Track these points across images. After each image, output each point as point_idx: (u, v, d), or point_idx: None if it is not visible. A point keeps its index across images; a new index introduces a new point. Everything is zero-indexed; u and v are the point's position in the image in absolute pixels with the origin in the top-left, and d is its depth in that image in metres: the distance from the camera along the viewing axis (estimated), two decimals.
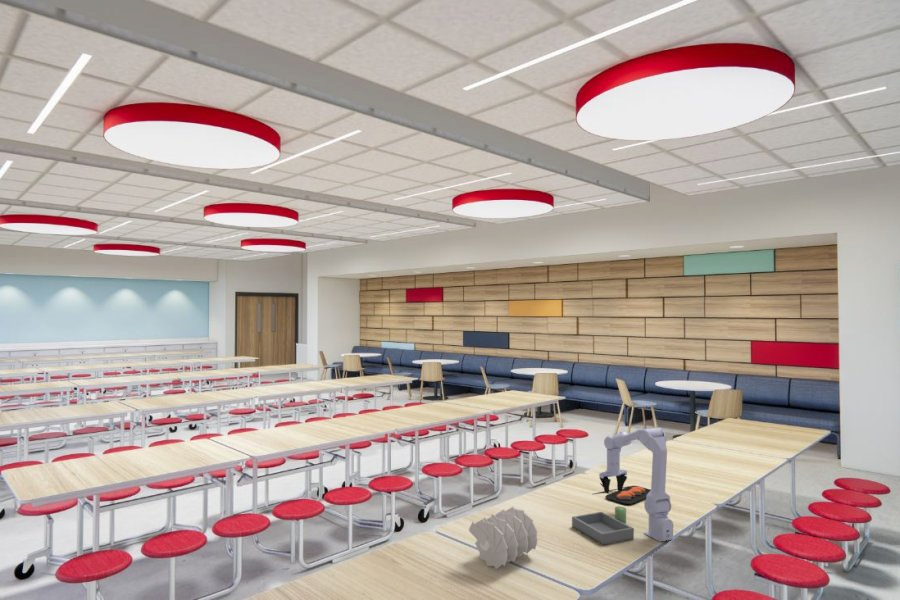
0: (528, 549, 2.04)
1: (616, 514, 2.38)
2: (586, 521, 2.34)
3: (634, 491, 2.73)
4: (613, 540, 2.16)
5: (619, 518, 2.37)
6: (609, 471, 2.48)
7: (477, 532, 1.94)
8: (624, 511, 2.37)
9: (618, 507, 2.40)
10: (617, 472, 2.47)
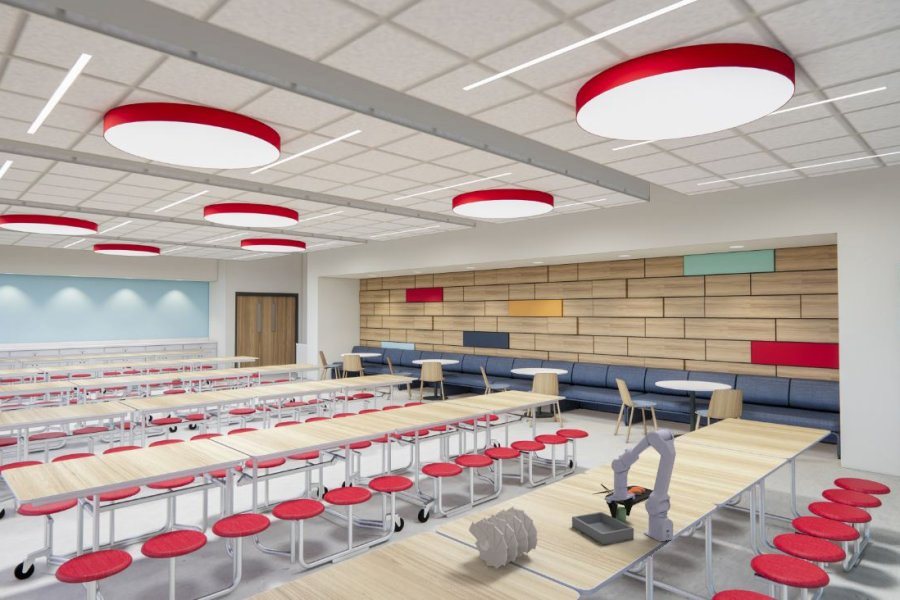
0: (528, 549, 2.04)
1: (616, 514, 2.38)
2: (586, 521, 2.34)
3: (634, 491, 2.73)
4: (613, 540, 2.16)
5: (619, 518, 2.37)
6: (616, 495, 2.38)
7: (477, 532, 1.94)
8: (624, 511, 2.37)
9: (618, 507, 2.40)
10: (625, 496, 2.37)
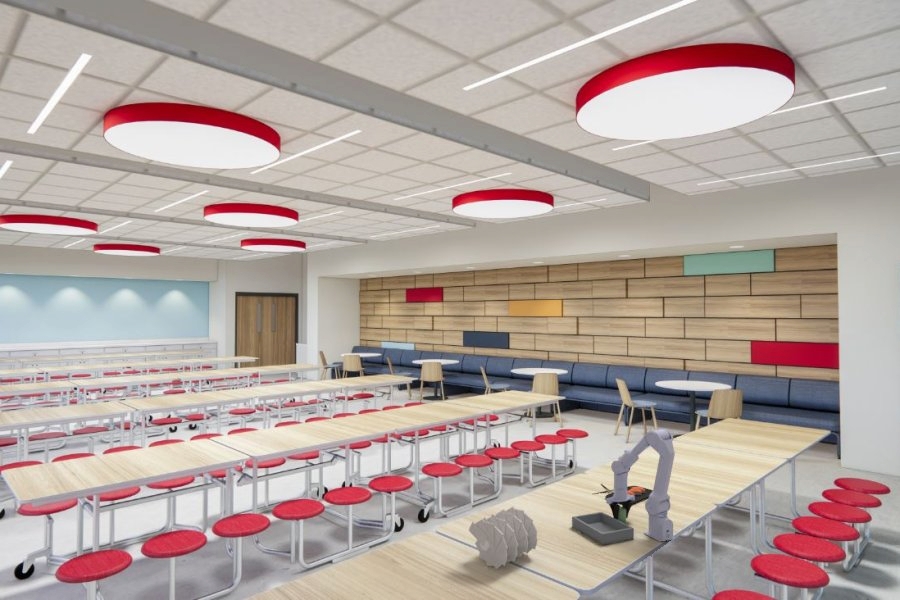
0: (528, 549, 2.04)
1: None
2: (586, 521, 2.34)
3: (634, 491, 2.73)
4: (613, 540, 2.16)
5: (619, 518, 2.37)
6: (616, 497, 2.37)
7: (477, 532, 1.94)
8: (624, 511, 2.37)
9: None
10: (625, 498, 2.37)
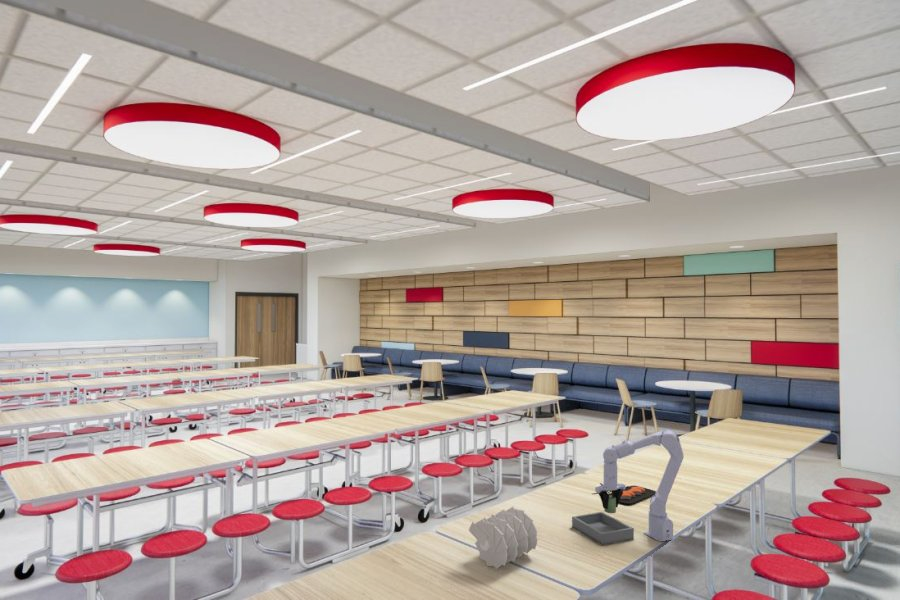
0: (528, 549, 2.04)
1: None
2: (586, 521, 2.34)
3: (634, 491, 2.73)
4: (613, 540, 2.16)
5: (608, 507, 2.30)
6: (606, 485, 2.30)
7: (477, 532, 1.94)
8: (613, 500, 2.30)
9: None
10: (614, 486, 2.29)
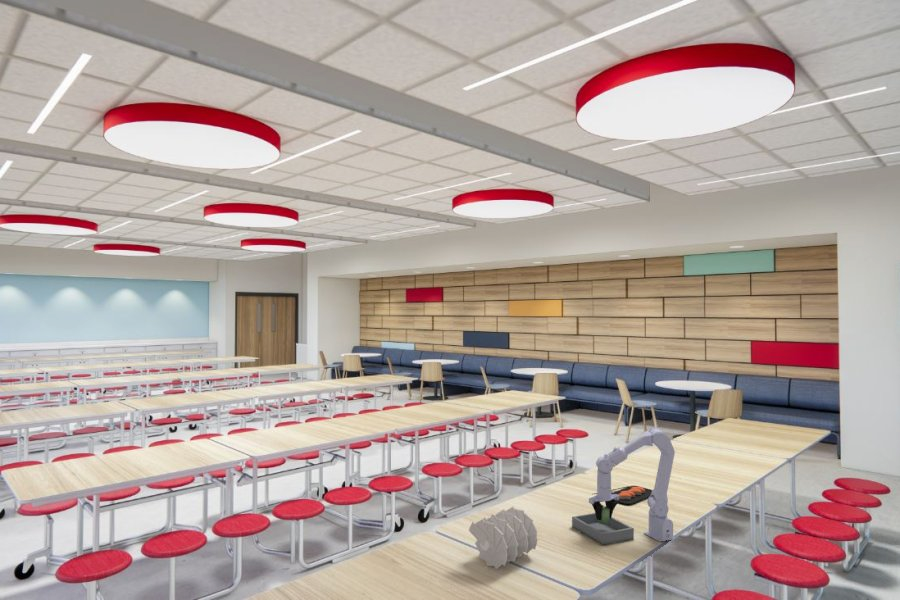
0: (528, 549, 2.04)
1: None
2: (586, 521, 2.34)
3: (634, 491, 2.73)
4: (613, 540, 2.16)
5: (602, 518, 2.25)
6: (599, 496, 2.25)
7: (477, 532, 1.94)
8: (607, 511, 2.25)
9: None
10: (608, 497, 2.24)
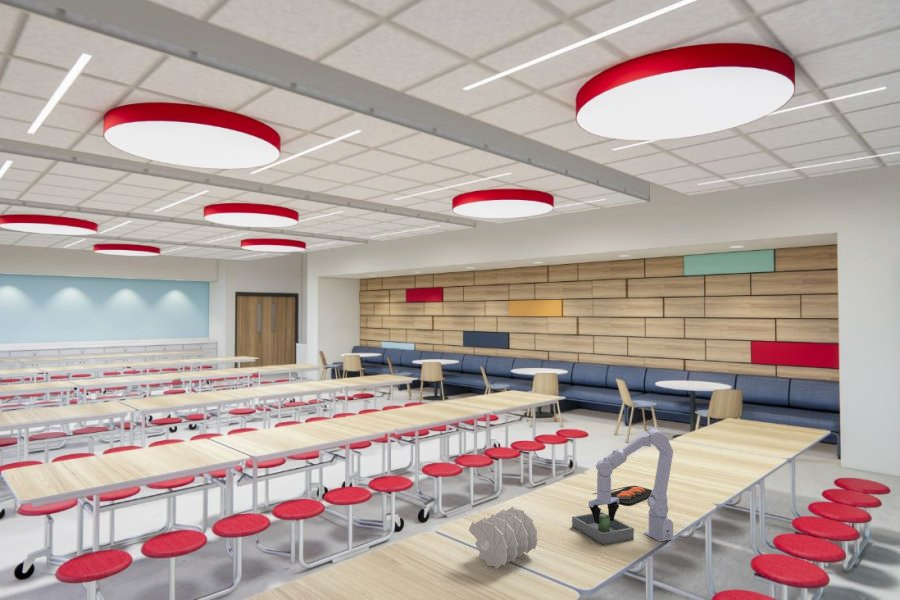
0: (528, 549, 2.04)
1: (599, 523, 2.26)
2: (586, 521, 2.34)
3: (634, 491, 2.73)
4: (613, 540, 2.16)
5: (602, 527, 2.25)
6: (599, 499, 2.25)
7: (477, 532, 1.94)
8: (607, 519, 2.25)
9: (601, 515, 2.28)
10: (608, 500, 2.24)
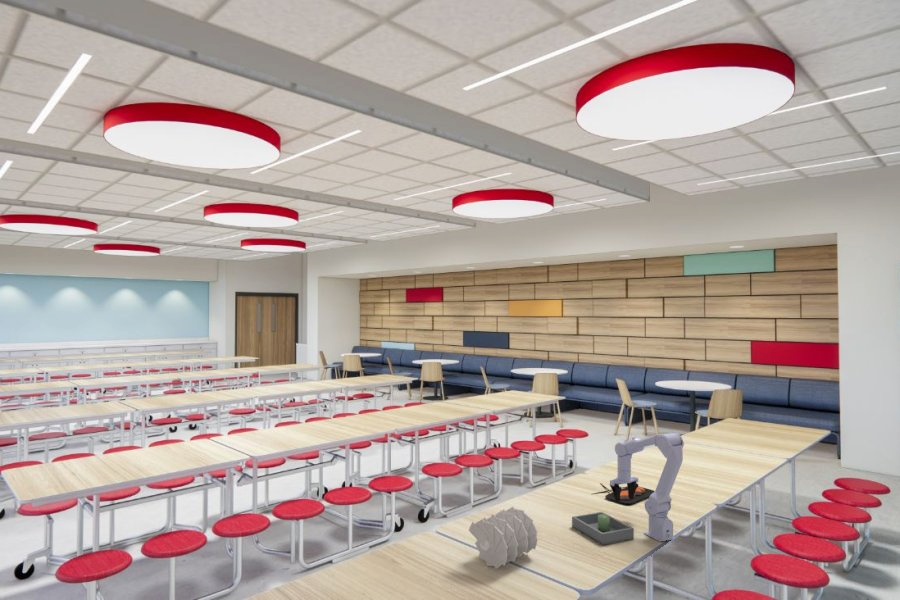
0: (528, 549, 2.04)
1: (599, 523, 2.26)
2: (586, 521, 2.34)
3: None
4: (613, 540, 2.16)
5: (601, 527, 2.25)
6: (620, 478, 2.38)
7: (477, 532, 1.94)
8: (607, 519, 2.24)
9: (601, 515, 2.28)
10: (628, 479, 2.38)
